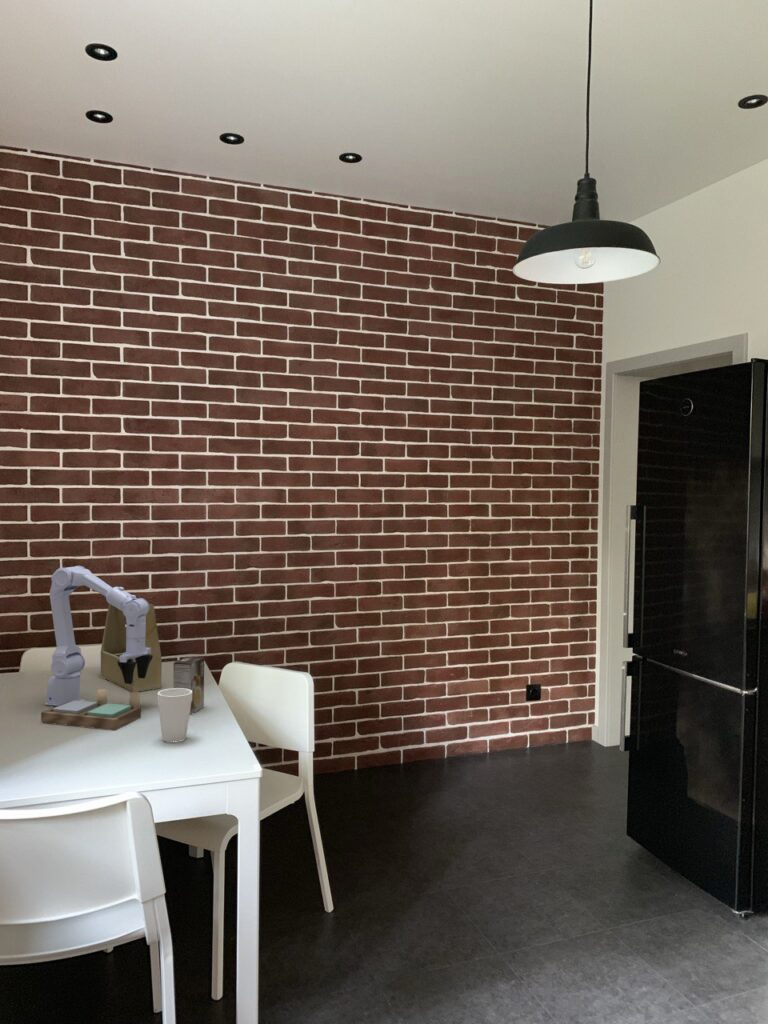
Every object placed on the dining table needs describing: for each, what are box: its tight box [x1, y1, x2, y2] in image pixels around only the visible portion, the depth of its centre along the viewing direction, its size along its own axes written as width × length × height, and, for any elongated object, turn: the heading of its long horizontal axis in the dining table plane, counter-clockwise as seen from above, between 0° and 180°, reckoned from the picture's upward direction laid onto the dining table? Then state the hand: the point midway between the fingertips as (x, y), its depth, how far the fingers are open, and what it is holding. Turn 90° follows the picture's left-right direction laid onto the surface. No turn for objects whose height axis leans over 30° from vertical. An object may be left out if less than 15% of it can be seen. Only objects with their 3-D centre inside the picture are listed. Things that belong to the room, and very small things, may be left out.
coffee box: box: [172, 656, 205, 715], centre depth 237 cm, size 9×6×16 cm
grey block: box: [53, 688, 108, 714], centre depth 231 cm, size 8×20×6 cm, turn 167°
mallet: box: [87, 691, 141, 718], centre depth 228 cm, size 8×20×6 cm, turn 167°
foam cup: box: [156, 688, 192, 743], centre depth 208 cm, size 10×9×13 cm
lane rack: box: [40, 701, 142, 731], centre depth 224 cm, size 24×14×3 cm, turn 77°
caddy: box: [100, 603, 163, 692], centre depth 271 cm, size 29×11×30 cm, turn 42°
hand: (135, 680), depth 236 cm, fingers open, 7 cm apart
